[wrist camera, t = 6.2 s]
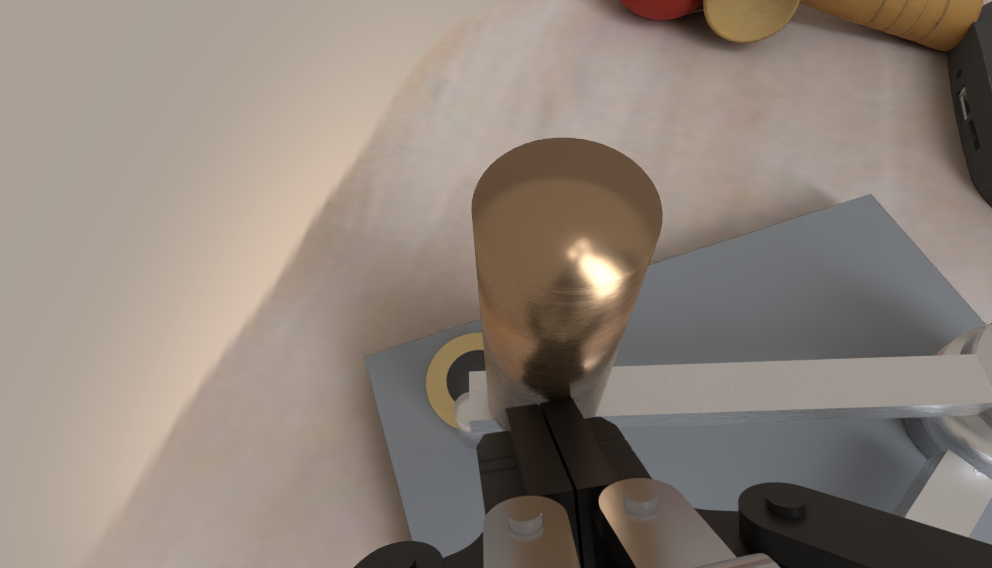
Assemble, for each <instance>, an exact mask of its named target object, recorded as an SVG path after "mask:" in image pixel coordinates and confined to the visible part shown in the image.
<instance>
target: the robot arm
mask: <svg viewBox="0 0 992 568" xmlns="http://www.w3.org/2000/svg"><path fill="white" fill-rule="evenodd" d="M504 411H505V422H506V430H507V431H502V432H496V433H489V434H484V435H483V437H482V439H481V440H480V442H479V443H478V445H477V447H476V451H477V458H478V466H479V473H480V480H481V488H482V495H483V503H484V510H485V519H484V523H483V532H482V533H481V534H480V536H479V537H478V538H477V539H476V540H475V541H474V542H473V543H471V544H470V545H469V546H467V547H466V548H464V549H462V550H460V551H458V552H456V553H454V554H451V555H449V556H446V557H444V558H443V557H442V555H441V553H440V552H439V551H438V550H437V549H436V548H435V547H433V546H432V545H429V544H427V543H424V542H418V541H403V542H397V543H393V544H389V545H387V546H384V547H382V548H379V549H377V550H375V551H374V552H372V553H370V554H369V555H368V556H366V557H365V558H364V559H363V560H362V561H360V562H359V563H358V564H357V565H356V566H355V567H354V568H992V545H991V544H988V543H985V542H982V541H978V540H975V539H972V538H969V537H965V536H962V535H959V534H956V533H952V532H949V531H946V530H943V529H939V528H936V527H933V526H930V525H926V524H923V523H920V522H917V521H914V520H910V519H907V518H904V517H901V516H897V515H894V514H891V513H888V512H884V511H881V510H878V509H875V508H871V507H868V506H865V505H862V504H858V503H855V502H852V501H849V500H845V499H842V498H839V497H836V496H832V495H829V494H826V493H823V492H819V491H816V490H813V489H810V488H806V487H803V486H799V485H796V484H790V483H782V482H768V483H761V484H756V485H753V486H751V487H749V488H747V489H745V490H744V491H743V492H742V493H741V494H740V496H739V499H738V511H722V510H705V509H698V508H693V507H692V506H691V504H690V503H689V502H688V501H687V500H686V499H685V498H684V496H683V495H682V494H681V493H680V492H679V491H678V490H677V489H676V488H674V487H673V486H671V485H669V484H667V483H664V482H661V481H658V480H654V479H652V478H651V476H650V475H649V473H648V472H647V470H646V469H645V467H644V466H643V464H642V463H641V461H640V460H639V458H638V457H637V455H636V454H635V452H634V451H632V448H631V446H630V445H629V443H628V442H627V440H625V437H624V436H623V434H622V433H621V431H620V430H619V428H618V427H617V425H615V424H613V423H611V422H610V421H608V420H606V419H604V418H602V417H601V416H599V417H592V418H586V419H584V418H583V416H582V414H581V412H580V410H579V409H578V407H577V405H576V403H575V402H574V400H573V399H572V398H569V399H563V400H556V401H549V402H543V403H539V406H538V404H530V405H524V406H517V407H510V408H505V409H504Z"/></svg>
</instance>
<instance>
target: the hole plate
mask: <svg viewBox="0 0 992 568" xmlns="http://www.w3.org/2000/svg"><path fill="white" fill-rule="evenodd" d="M982 326H987V325H986V324H985V323H984V322H983V321H982V319H981V318H980V317H979V316H978V315H977V314H976V313H975V311H974V310H973V309H972V308H971V307H970V306H969V305H968V304H967V302H966V301H965V300H964V299H963V298H962V297H961V296H960V294H959V293H958V292H957V291H956V290H955V289H954V288H953V287H952V285H951V284H950V283H949V282H948V281H947V280H946V279H945V277H944V276H943V275H942V274H941V273H940V272H939V271H938V270H937V268H936V267H935V266H934V265H933V264H932V263H931V262H930V260H929V259H928V258H927V257H926V256H925V255H924V254H923V253H922V251H921V250H920V249H919V248H918V247H917V246H916V245H915V243H914V242H913V241H912V240H911V239H910V238H909V237H908V235H907V234H906V233H905V232H904V231H903V230H902V229H901V228H900V226H899V225H898V224H897V223H896V222H895V221H894V220H893V218H892V217H891V216H890V215H889V214H888V213H887V212H886V211H885V209H884V208H883V207H882V206H881V205H880V204H879V203H878V201H877V200H876V199H875V198H874V197H873V196H872V195H871V194H869V195H866V196H863V197H860V198H857V199H853V200H850V201H847V202H844V203H841V204H838V205H835V206H832V207H829V208H825V209H822V210H819V211H816V212H813V213H810V214H807V215H804V216H801V217H797V218H794V219H791V220H788V221H785V222H782V223H779V224H776V225H773V226H769V227H766V228H763V229H760V230H757V231H754V232H751V233H748V234H745V235H741V236H738V237H735V238H732V239H729V240H726V241H723V242H720V243H717V244H713V245H710V246H707V247H704V248H701V249H698V250H695V251H692V252H689V253H685V254H682V255H679V256H676V257H673V258H670V259H667V260H664V261H661V262H658V263H654V264H651V265H649V266H648V269H647V271H646V274H645V277H644V280H643V283H642V285H641V288H640V291H639V294H638V297H637V300H636V302H635V305H634V308H633V311H632V314H631V317H630V319H629V322H628V325H627V328H626V331H625V334H624V336H623V339H622V342H621V345H620V348H619V350H618V353H617V356H616V359H615V362H614V365H613V367H617V366H646V365H675V364H705V363H734V362H763V361H792V360H821V359H850V358H880V357H909V356H932V355H933V354H935V353H936V352H938V351H939V350H940V349H942V348H943V347H945V346H946V345H947V344H949V343H950V342H952V341H953V340H955V339H956V338H957V337H959V336H960V335H962V334H963V333H964V332H967V331H969V330H971V329H974V328H977V327H982ZM364 359H365V363H366V367H367V371H368V374H369V378H370V382H371V386H372V390H373V393H374V397H375V401H376V405H377V409H378V413H379V416H380V420H381V424H382V428H383V432H384V435H385V439H386V443H387V447H388V451H389V454H390V458H391V462H392V466H393V470H394V473H395V477H396V481H397V485H398V489H399V492H400V496H401V500H402V504H403V508H404V512H405V515H406V519H407V523H408V527H409V531H410V534H411V538H412V541H418V542H424V543H427V544H429V545H432V546H433V547H435V548H436V549H437V550H438V551H439V552H440V553H441V555H442V557H443V558H444V557H446V556H449V555H451V554H454V553H456V552H458V551H460V550H462V549H464V548H466V547H467V546H469V545H470V544H471V543H473V542H474V541H475V540H476V539H477V538H478V537H479V536H480V534H481V533H482V532H483V523H484V519H485V510H484V503H483V495H482V488H481V480H480V473H479V466H478V458H477V451H476V448H470V447H467V446H466V445H464V444H463V442H462V441H461V439H460V436H459V431H458V427H457V423H456V419H455V414H454V404H455V402H456V400H457V399H458V398H459V397H460V396H461V395H462V394H464V393H467V392H469V372H471V371H486V370H485V358H484V347H483V335H482V324H481V319H480V320H477V321H474V322H471V323H468V324H465V325H462V326H458V327H455V328H452V329H449V330H446V331H443V332H440V333H437V334H434V335H430V336H427V337H424V338H421V339H418V340H415V341H412V342H409V343H406V344H402V345H399V346H396V347H393V348H390V349H387V350H384V351H381V352H378V353H374V354H371V355H368V356H365V357H364ZM619 430H620V431H621V433H622V434H623V436H624V437H625V440H627V442H628V443H629V445H630V446H631V448H632V451H634V452H635V454H636V455H637V457H638V458H639V460H640V461H641V463H642V464H643V466H644V467H645V469H646V470H647V472H648V473H649V475H650V476H651V478H652V479H654V480H658V481H661V482H664V483H667V484H669V485H671V486H673V487H674V488H676V489H677V490H678V491H679V492H680V493H681V494H682V495H683V496H684V498H685V499H686V500H687V501H688V502H689V503H690V504H691V506H692V507H693V508H698V509H705V510H722V511H738V499H739V496H740V494H741V493H742V492H743V491H744V490H745V489H747V488H749V487H751V486H753V485H756V484H761V483H768V482H782V483H790V484H796V485H799V486H803V487H806V488H810V489H813V490H816V491H819V492H823V493H826V494H829V495H832V496H836V497H839V498H842V499H845V500H849V501H852V502H855V503H858V504H862V505H865V506H868V507H871V508H875V509H878V510H881V511H884V512H888V513H891V514H892V513H893V511H894V510H895V508H896V507H897V505H898V504H899V502H900V501H901V499H902V498H903V496H904V495H905V493H906V491H907V490H908V488H909V487H910V485H911V484H912V482H913V481H914V479H915V478H916V476H917V475H918V473H919V472H920V470H921V468H922V467H923V465H924V464H925V462H926V461H927V459H926V458H925V457H924V456H923V455H922V454H921V452H920V451H919V450H918V449H917V447H916V446H915V445H914V444H913V442H912V441H911V439H910V437H909V436H908V434H907V432H906V430H905V428H904V426H903V423H902V420H901V418H883V419H854V420H825V421H795V422H766V423H737V424H707V425H678V426H648V427H619ZM501 432H502V431H501ZM491 433H496V432H491ZM969 538H972V539H975V540H978V541H982V542H985V543H988V544H991V545H992V498H991V499H990V501H989V503H988V505H987V506H986V508H985V510H984V511H983V513H982V515H981V517H980V518H979V520H978V522H977V523H976V525H975V527H974V529H973V530H972V532H971V534H970V535H969Z"/></svg>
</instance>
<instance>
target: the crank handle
mask: <svg viewBox="0 0 992 568" xmlns="http://www.w3.org/2000/svg"><path fill="white" fill-rule="evenodd" d="M472 221H473V232H474V244H475V255H476V267H477V278H478V290H479V301H480V312H481V324H482V335H483V347H484V358H485V370H486V371H471V372H469V392H467V393H464V394H462V395H461V396H460V397H459V398H458V399H457V400H456V402H455V404H454V414H455V419H456V423H457V427H458V431H459V436H460V439H461V441H462V442H463V444H464V445H466V446H467V447H470V448H476V447H477V445H478V443H479V442H480V440H481V439H482V437H483V435H484V434H489V433H491V432H501V431H507V430H506V422H505V411H504V409H505V408H510V407H517V406H524V405H530V404H538V406H539V403H543V402H549V401H556V400H563V399H569V398H572V399H573V400H574V402H575V403H576V405H577V407H578V409H579V410H580V412H581V414H582V416H583V418H584V419H586V418H592V417H599V416H601V417H602V418H604V419H606V420H608V421H610V422H611V423H613V424H615V425H617V427H618V428H619V427H648V426H678V425H707V424H737V423H766V422H795V421H825V420H854V419H883V418H913V417H942V416H972V415H977V414H979V415H980V416H981V418H982V419H983V420H984V421H985V422H986V423H987V424H988V425H989V426H990V427H992V323H990V324H989V325H987V326H986V327H984V328H983V329H982V330H980V331H979V332H977V333H976V334H974V335H973V336H972V337H971V338H969V339H968V340H967V342H966V343H965V344H964V346H963V347H962V350H961V352H960V355H938V356H909V357H880V358H850V359H821V360H792V361H763V362H734V363H705V364H675V365H646V366H617V367H613V365H614V362H615V359H616V356H617V353H618V350H619V348H620V345H621V342H622V339H623V336H624V334H625V331H626V328H627V325H628V322H629V319H630V317H631V314H632V311H633V308H634V305H635V302H636V300H637V297H638V294H639V291H640V288H641V285H642V283H643V280H644V277H645V274H646V271H647V269H648V266H649V263H650V260H651V257H652V254H653V252H654V249H655V246H656V243H657V240H658V237H659V235H660V231H661V226H662V206H661V201H660V198H659V195H658V192H657V190H656V188H655V186H654V184H653V183H652V181H651V180H650V178H649V177H648V175H647V174H646V173H645V172H644V171H643V170H642V168H641V167H639V166H638V165H637V164H636V163H635V162H634V161H633V160H631V159H630V158H628V157H627V156H625V155H624V154H622V153H620V152H618V151H617V150H615V149H613V148H610V147H608V146H605V145H603V144H600V143H596V142H593V141H588V140H583V139H576V138H549V139H543V140H537V141H533V142H530V143H526V144H524V145H521V146H519V147H516V148H514V149H512V150H511V151H509V152H507V153H505V154H504V155H502V156H501V157H500V158H498V159H497V160H496V161H495V162H494V163H492V164H491V165H490V166H489V168H488V169H487V170H486V171H485V172H484V174H483V175H482V177H481V178H480V180H479V182H478V184H477V186H476V189H475V191H474V195H473V199H472Z"/></svg>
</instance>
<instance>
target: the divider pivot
mask: <svg viewBox="0 0 992 568" xmlns="http://www.w3.org/2000/svg"><path fill="white" fill-rule="evenodd" d="M984 327H986V326H982V327H977V328H974V329H971V330H969V331H967V332H964V333H963V334H962V335H960V336H959V337H957V338H956V339H955V340H953V341H952V342H950V343H949V344H947V345H946V346H945V347H943V348H942V349H940V350H939V351H938V352H936V353H935V354H933V355H932V356H938V355H960V352H961V350H962V347H963V346H964V344H965V343H966V342H967V340H968V339H969V338H971V337H972V336H973V335H974V334H976V333H977V332H979V331H980V330H982V329H983V328H984ZM901 420H902V423H903V426H904V428H905V430H906V432H907V434H908V436H909V437H910V439H911V441H912V442H913V444H914V445H915V446H916V447H917V449H918V450H919V451H920V452H921V454H922V455H923V456H924V457H925V458H926V459H927V461H926V462H925V464H924V465H923V467H922V468H921V470H920V472H919V473H918V475H917V476H916V478H915V479H914V481H913V482H912V484H911V485H910V487H909V488H908V490H907V491H906V493H905V495H904V496H903V498H902V499H901V501H900V502H899V504H898V505H897V507H896V508H895V510H894V511H893V513H892V514H894V515H897V516H901V517H904V518H907V519H910V520H914V521H917V522H920V523H923V524H926V525H930V526H933V527H936V528H939V529H943V530H946V531H949V532H952V533H956V534H959V535H962V536H965V537H969V535H970V534H971V532H972V530H973V529H974V527H975V525H976V523H977V522H978V520H979V518H980V517H981V515H982V513H983V511H984V510H985V508H986V506H987V505H988V503H989V501H990V499H991V498H992V427H990V426H989V425H988V424H987V423H986V422H985V421H984V420H983V419H982V418H981V416H980V415H979V414H977V415H972V416H942V417H913V418H901Z"/></svg>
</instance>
